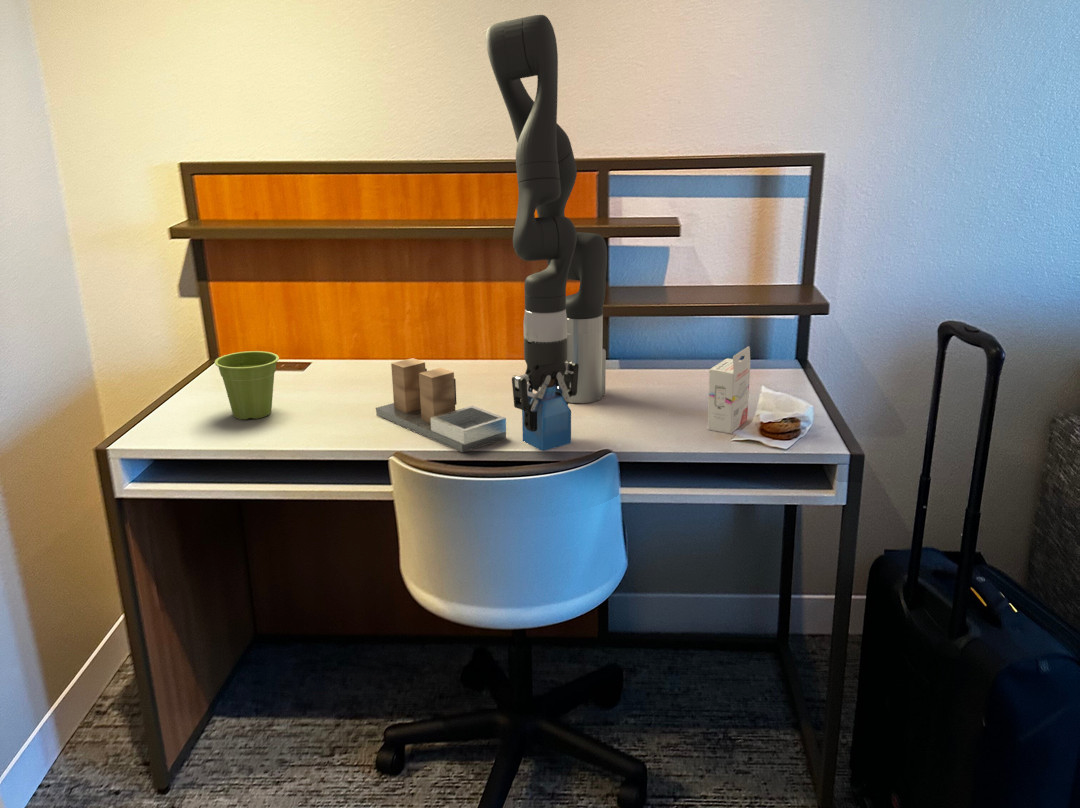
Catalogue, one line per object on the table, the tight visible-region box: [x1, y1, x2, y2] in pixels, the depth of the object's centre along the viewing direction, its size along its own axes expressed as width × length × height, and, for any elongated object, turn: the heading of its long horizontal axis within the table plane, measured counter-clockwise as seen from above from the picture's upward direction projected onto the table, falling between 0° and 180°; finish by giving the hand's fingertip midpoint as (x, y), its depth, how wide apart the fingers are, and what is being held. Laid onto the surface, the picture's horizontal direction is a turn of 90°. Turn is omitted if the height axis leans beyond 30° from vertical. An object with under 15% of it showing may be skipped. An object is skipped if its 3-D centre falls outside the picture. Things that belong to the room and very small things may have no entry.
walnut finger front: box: [419, 367, 458, 423], centre depth 176 cm, size 6×4×9 cm
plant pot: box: [214, 350, 280, 420], centre depth 184 cm, size 12×12×11 cm
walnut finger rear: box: [390, 357, 428, 413], centre depth 182 cm, size 6×4×9 cm
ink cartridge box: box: [706, 345, 751, 434], centre depth 174 cm, size 9×5×15 cm, turn 148°
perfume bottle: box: [521, 379, 572, 452], centre depth 168 cm, size 6×6×12 cm
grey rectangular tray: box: [375, 402, 507, 454], centre depth 177 cm, size 10×27×4 cm, turn 42°
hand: (546, 425), depth 169 cm, fingers closed on perfume bottle, 6 cm apart
